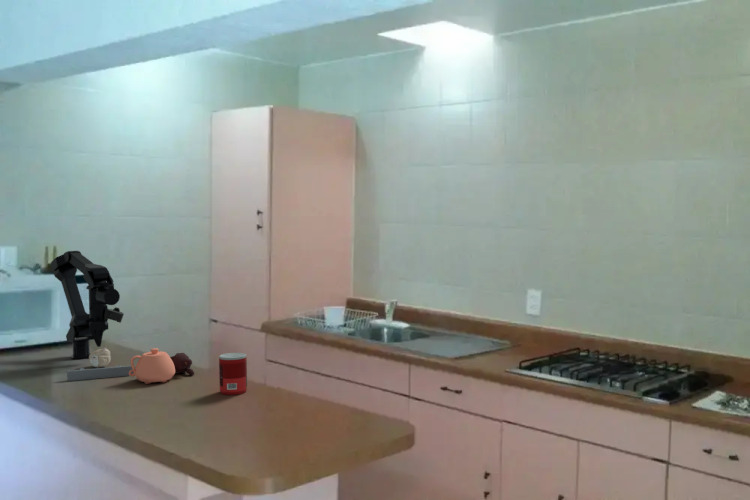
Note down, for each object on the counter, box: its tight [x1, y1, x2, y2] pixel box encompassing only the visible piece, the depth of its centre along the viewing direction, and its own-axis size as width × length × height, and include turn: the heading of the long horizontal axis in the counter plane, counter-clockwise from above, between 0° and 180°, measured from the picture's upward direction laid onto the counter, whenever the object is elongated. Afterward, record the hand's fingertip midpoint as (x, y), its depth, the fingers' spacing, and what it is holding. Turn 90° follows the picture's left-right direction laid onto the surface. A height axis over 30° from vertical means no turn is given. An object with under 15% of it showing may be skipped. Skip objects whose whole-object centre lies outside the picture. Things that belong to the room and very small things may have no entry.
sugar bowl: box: [129, 347, 176, 385], centre depth 230 cm, size 12×14×10 cm
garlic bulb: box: [88, 344, 112, 368], centre depth 250 cm, size 7×6×8 cm
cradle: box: [66, 364, 133, 382], centre depth 237 cm, size 6×20×3 cm, turn 112°
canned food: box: [218, 352, 248, 396], centre depth 215 cm, size 8×8×11 cm
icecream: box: [169, 352, 195, 377], centre depth 241 cm, size 7×7×15 cm
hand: (98, 346), depth 258 cm, fingers closed
